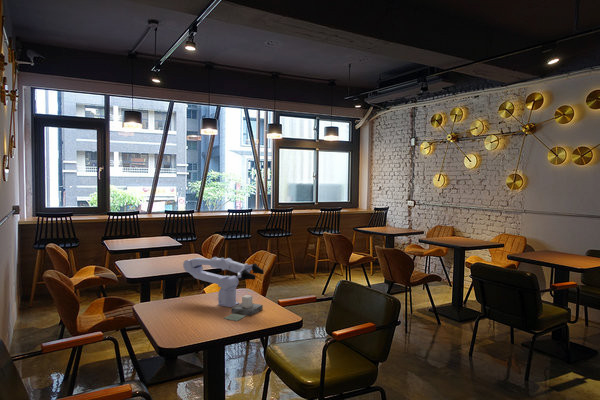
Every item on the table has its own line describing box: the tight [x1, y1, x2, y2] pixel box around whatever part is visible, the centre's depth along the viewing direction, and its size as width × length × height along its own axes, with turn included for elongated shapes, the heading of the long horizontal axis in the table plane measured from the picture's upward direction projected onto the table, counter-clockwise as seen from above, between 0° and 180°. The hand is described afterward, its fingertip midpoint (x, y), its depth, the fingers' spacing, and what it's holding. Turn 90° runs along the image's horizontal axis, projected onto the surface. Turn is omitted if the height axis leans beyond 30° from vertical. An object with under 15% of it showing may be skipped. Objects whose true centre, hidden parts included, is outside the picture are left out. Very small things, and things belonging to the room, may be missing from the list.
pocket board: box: [230, 302, 264, 317], centre depth 215 cm, size 12×12×2 cm
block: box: [241, 294, 253, 308], centre depth 214 cm, size 4×4×8 cm
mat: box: [223, 313, 247, 322], centre depth 204 cm, size 8×8×1 cm
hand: (259, 274), depth 215 cm, fingers open, 7 cm apart
